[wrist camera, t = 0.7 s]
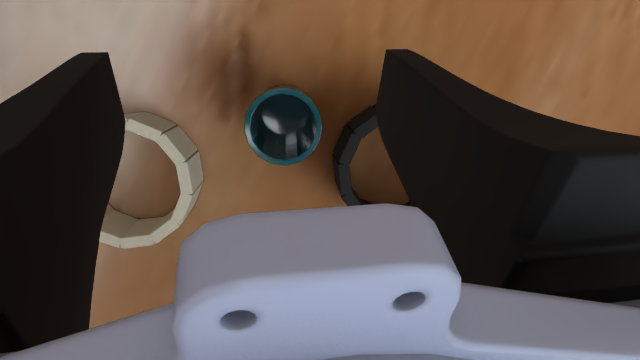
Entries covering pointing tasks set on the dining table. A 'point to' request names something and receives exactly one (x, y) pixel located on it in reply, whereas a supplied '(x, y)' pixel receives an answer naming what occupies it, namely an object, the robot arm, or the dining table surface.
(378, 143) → the dining table surface
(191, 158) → the ivory ring
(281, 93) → the espresso cup
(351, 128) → the black ring
